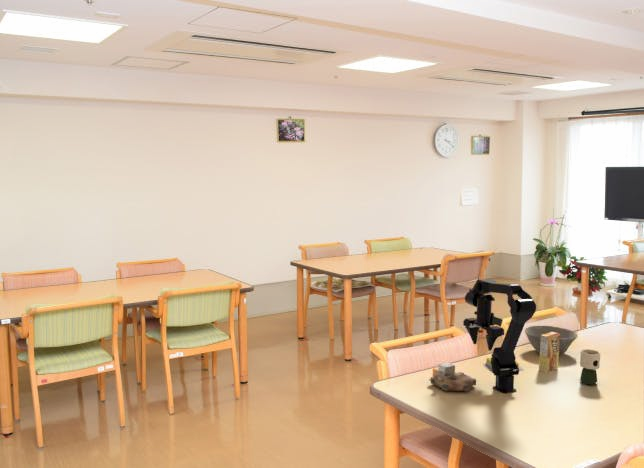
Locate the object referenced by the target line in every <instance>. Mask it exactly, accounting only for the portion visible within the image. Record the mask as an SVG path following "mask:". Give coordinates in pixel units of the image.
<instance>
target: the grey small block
mask: <svg viewBox="0 0 644 468" xmlns="http://www.w3.org/2000/svg"><path fill="white" fill-rule="evenodd" d="M437 368H438V373H439V370H443V371H444V377H449V376H455V372H456V365H455V364H453V363H451V362H445V363H438V367H437Z"/></svg>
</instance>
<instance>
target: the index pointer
mask: <svg viewBox="0 0 644 468" xmlns="http://www.w3.org/2000/svg"><path fill="white" fill-rule="evenodd" d="M436 374H438V367H433V368H432V377H434V375H436Z"/></svg>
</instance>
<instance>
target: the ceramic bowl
mask: <svg viewBox="0 0 644 468" xmlns="http://www.w3.org/2000/svg"><path fill="white" fill-rule="evenodd" d="M550 332H555V333H559V334H560V345H559V355H563V354H564V353H566V352H567V351H568V349H569V348H570V346H571V345H572V343H574V341H575V340H577V338H578V333H577V332H575V331H573V330H571V329H567V328H564V327H558V326H553V325H531V326H528V327H526V328H525V329H524V333H525V334H526V337H527V340H528V342H529V343H530V346H532V347H533V349H535V351H537V353H539V354H540V343H541V335H543V334H546V333H550Z"/></svg>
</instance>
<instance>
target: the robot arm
mask: <svg viewBox="0 0 644 468" xmlns="http://www.w3.org/2000/svg"><path fill="white" fill-rule="evenodd" d="M494 293H495V294H503V295H506V296H507V302H506V303H507V305H508V306H509V308H510V309H509V312H510V315H511V319H510V321H509V325H508V327H507V329H506V333H505V329H504V328H503V327H502V324H503V321H504V319H503V318H500V317H497V316H495V313H494V312H492V307H493V306H492V303H493V302H495V297H494V296H493V295H492V294H494ZM514 295H516V296H517V297H518V299H514V297H513V296H514ZM464 301H465V303H466V304H468V305H470V306H473V307H475V308H476V311H474V313H473V314H474V315H476V318H475V317H468V318H465V319H464V320H463V322H462V323H463V324H462V325H463V326H464V327H465V329H466V331H467V333H468V334H469V337H470V339H471V341H472V343H473V345H477V342H478V335H479V334H478V332H479V330H480V329H482V330H485V331H486V334H485V338H486V344H487V349H488V351H492V354H491V357H490V358H491V366H492V371H491V373H492V374H493V376H495V385H493V386H492V388H493V389H495V390H497V391H499V392H500V393H503V394H507V393H512V392H517V389H516V388H514V386H515V385H514V383H515V376H518V375H519V373H520V370H519V369H518V366H517V364H516V362H517V361H516V354H515V351H516V350H515V349H516V347H517V345H518V342H519V340H520V338H521V334H522V332H523V330H524V327H525V325H526V322H528V321H529V320H531V319H532V318H533V316H534V315H535V313H536V311H537V304H536V302H535V301H534V299H533V297H532V296H531V294H529V293H528V292H527V291H525V290H524V289H523V288H522V286H521V285H520V284H519V283H504V282H503V283H502V282H497V280H496V279H493V278H483V279H482V278H481V279H476V282H475V283H474V285H473V287H471V288H469V291H468V292H466V294H465V296H464ZM504 335H505V336H504ZM502 336H504V338H503V340H502V344H501V346H499V347H494V345H495V342H496V341H497V339H498V338H499V337H502ZM515 361H516V362H515ZM508 368H509V369H510V370H501V369H508Z"/></svg>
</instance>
